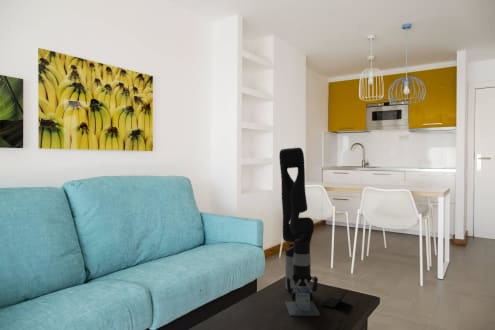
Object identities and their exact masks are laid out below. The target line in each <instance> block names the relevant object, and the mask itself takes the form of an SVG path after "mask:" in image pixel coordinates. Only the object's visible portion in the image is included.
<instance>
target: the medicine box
mask: <svg viewBox="0 0 495 330" xmlns="http://www.w3.org/2000/svg"><path fill="white" fill-rule="evenodd" d="M295 302H296V305H297V307H298V309H299V310H300V311H310V302H311V301H310V292H309V289H308V287H307V286H298V288H297V289H296V291H295Z"/></svg>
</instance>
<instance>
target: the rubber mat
mask: <svg viewBox="0 0 495 330" xmlns="http://www.w3.org/2000/svg"><path fill="white" fill-rule="evenodd" d="M284 303H285V306H286V310H287V312H288V315H289V317H310V316H311V317H312V316H313V317H314V316H316V317H317V316H318V317H319V316H321V313H320V311H319V309H318V307H317V306H316V304H315V302H314V301H310V311H300V310H299V309H298V307H297V305H296V301H285V302H284Z"/></svg>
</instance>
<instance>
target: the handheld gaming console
mask: <svg viewBox="0 0 495 330" xmlns="http://www.w3.org/2000/svg"><path fill="white" fill-rule="evenodd" d="M347 293H348V291H347V290H346V291H345V292H344V293H343V294H342V295H341V297H339V298H334V297H327V298H326V299H325V300H324V301H323V303H322V304H321V307H322V308H325V309H326V308H327V309H332V310H335V309H336V307H338V305H339V303H340V302H341V301H342V300H343V299H344V297H345V296H346V294H347Z"/></svg>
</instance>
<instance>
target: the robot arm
mask: <svg viewBox="0 0 495 330" xmlns="http://www.w3.org/2000/svg"><path fill="white" fill-rule="evenodd" d="M278 156H279V167H280V169H279V170H280V178H281V204H282V207H281V208H282V239H283V241H284V242H287V243H293V246H290V247H287V248H286V249H285V255H284V256H285V289H286V290H287V291H288V292H290V293H291V300H292V302H296V289H297V288H298V286H306V288H307V289H308V290H309V292H310V302H312V300H313V293H314V292H317V290H318V280H319V279H318V278H319V277H317V276H315V275H314V276H311V271H312V269H311V264H312V263H311V261H312V260H311V258H312V257H311V241H312V238H313V234H314V231H315V223H314V221H313V219H312V218H311V217H310V216H309V217H306V216H305V217H300V214H302V213H305V212H307V211H308V204H307V196H306V177H305V175H306V171H305V169H306V168H305V155H304V151H303V149H302V147H291V148H282V149H280V151H279V155H278ZM294 168H295V169H296V168H297V174H296V178H295V180H293V178H292V177H291V175H290V173H289V171H288V170H289V169H294ZM311 281H312V282H313V283H312V287H311V285H310V282H311Z"/></svg>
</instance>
